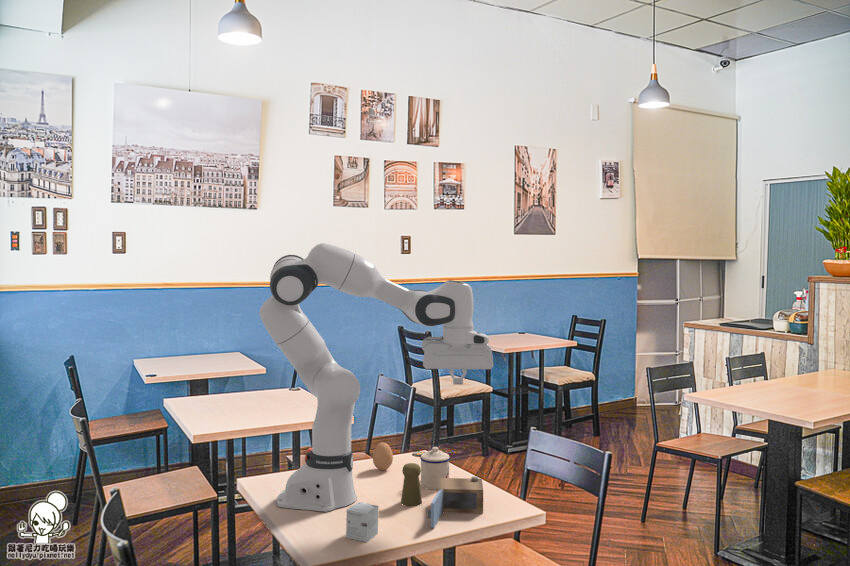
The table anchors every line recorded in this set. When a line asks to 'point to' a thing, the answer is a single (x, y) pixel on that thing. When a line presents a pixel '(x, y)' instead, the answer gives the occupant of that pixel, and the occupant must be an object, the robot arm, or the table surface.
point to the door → (436, 508)
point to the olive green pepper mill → (411, 485)
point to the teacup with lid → (434, 468)
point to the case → (462, 495)
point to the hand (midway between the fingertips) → (457, 384)
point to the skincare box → (362, 522)
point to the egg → (382, 456)
